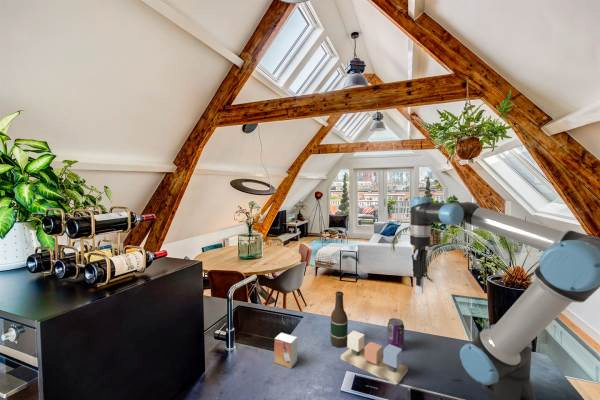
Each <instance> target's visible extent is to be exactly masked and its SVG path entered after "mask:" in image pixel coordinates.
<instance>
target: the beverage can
mask: <svg viewBox="0 0 600 400" xmlns="http://www.w3.org/2000/svg"><path fill="white" fill-rule="evenodd" d="M386 342H387V343H386V346H388V345H389V344H390V345H393V346H396V347H398V348H401V349H402V350H404V348H405V324H404V321H403V320H401V319H399V318H396V317H395V318H394V317H393V318H392V317H391V318H389V320H388V323H387V339H386Z"/></svg>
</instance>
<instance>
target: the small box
mask: <svg viewBox="0 0 600 400" xmlns="http://www.w3.org/2000/svg"><path fill="white" fill-rule="evenodd" d="M273 345H274V347H273V348H274V349H273V351H274V352H273V353H274V356H273V362H274V363H275V364H278V365H281V366H282V367H283V366H284V367H286V368H289V369H292V367H293V366H294V365H295V364H296V363H297V362H298V336H295V335H290V334H288V333H284V332H280V333H279V334H278V335H276V337H274V344H273Z"/></svg>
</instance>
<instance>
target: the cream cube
mask: <svg viewBox="0 0 600 400" xmlns="http://www.w3.org/2000/svg"><path fill="white" fill-rule="evenodd" d="M365 337H366V336H365V334H364V333H361V332H359V331H356V330H352V331H351V332H350V333H348V335H347V345H346V347H347V348H348V349H349V348H350V349H353V350H355V351H357V352H359V351H360V350H361V349H362V348H365Z"/></svg>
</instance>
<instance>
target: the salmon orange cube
mask: <svg viewBox="0 0 600 400" xmlns="http://www.w3.org/2000/svg"><path fill="white" fill-rule="evenodd" d="M364 349H365V352H364V359H365V360H367V361H369V362H372V363H374V364H376V365H377V363H378V362H379V361H380V360H381V359H382V356H383V345H380V344H378V343H376V342H372V341H370V342H368V343H366V345H364Z"/></svg>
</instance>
